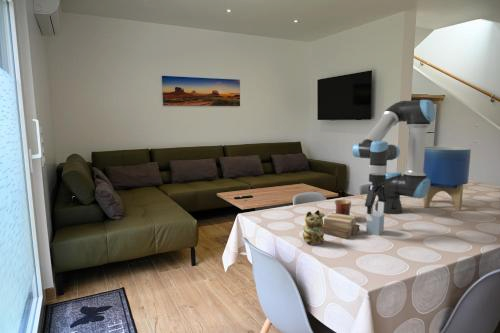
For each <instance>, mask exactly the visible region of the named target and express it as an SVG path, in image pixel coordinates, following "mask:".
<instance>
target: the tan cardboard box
mask: <svg viewBox="0 0 500 333" xmlns="http://www.w3.org/2000/svg"><path fill="white" fill-rule="evenodd" d="M360 226H361V225H360V224H355V225H354V227H353V228H352V229H351V230H350V231H345V230H339V229H333V228H328V227H324V223H323V226H322V227H321V228H320V230H322V231H323V232H324V235H328V236H332V237H335V238H338V239H343V240H348V239H349V238H351V237H353V236H355V235H357V234H358V233H360Z"/></svg>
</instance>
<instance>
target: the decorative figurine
mask: <svg viewBox="0 0 500 333" xmlns="http://www.w3.org/2000/svg"><path fill="white" fill-rule="evenodd" d="M325 216H326V215H325V213H324V212H320V210H319V209H315V211H313V213H312V212H311V211H307V212H306V214H305V217H304V221H305V225H304V226H303V228H302V230H303V231H302V237H303V240H304V241H305V242H306V243H309V245H310V246H311V245H320V244H321V241H322V242H323V241H325V238H324V236H325V234H324V232H323V231H322V230H320V228H321V227H322V226H323V224H324V218H325Z"/></svg>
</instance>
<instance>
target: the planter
mask: <svg viewBox="0 0 500 333" xmlns="http://www.w3.org/2000/svg"><path fill="white" fill-rule="evenodd" d="M471 151H472V149H471V148H470V147H469V148H468V147H459V146H437V145H435V146H434V145H433V146H425V160H424V172H425V173H426V174H427V175H426V178H428V179H430V187H429V191H428V193H427V195H426V196H425V197H424V198H422V200H423V201H422V202H423V208H425V207H426V208H425V209H429V208H430V205H431V202H432V200H433V198H434V197H435V196H436V194H438V193H439V192H445V193H446V194H448V195H449V196H450V197H451V200H452V205H454V204H455V205H454V210H455V211H457V212H461V211H462V205H463V196H464V195H463V192H464V185H467V184H469V175H470V166H471V165H470V163H471V153H472V152H471ZM428 207H429V208H428Z"/></svg>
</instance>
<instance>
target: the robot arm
mask: <svg viewBox="0 0 500 333" xmlns="http://www.w3.org/2000/svg"><path fill="white" fill-rule="evenodd" d="M435 117H436V106H435V104H434V102H433V101H432V100H430V99H412V100H401V101H398V102H397V101H396V102H394V103H393V104H392V105H389V107H387V108H385V110H384V111H383V112H382V113H381V118H380V119H379V121H378V122H377V123H376V124H375V125H374V127H373V128H372V129H371V131H369V133H368V134H367V135H366V137H365V138H364V139H363V140H362V142H357V143H354V144H353V145H352V147H351V148H352V149H351V153H352V156H353V157H355V158H360V159H369V166H368V168H369V174H368V182H370V183H371V185H368V191H367V194H366V199H365V202H364V207H366V218H365V221H367V220H369V221H373V212H374V211H377V213H380V214H384V215H385V214H392V215H393V214H394V215H395V214H402V212H403V205H402V202H401V196H403V197H409V198H414V199H423V198H424V197H425V196H426V195H427V193H428V191H429V187H430V179H428V178H426V175H427V174H426V173H425V172H424V160H425V147H427V145H426V144H427V133H428V132H427V131H428V127H430V126H431V122H432V123H433V121H435V119H436V118H435ZM400 122H403V123H404V122H406V126H407V127H408V128H409V130H408V131H409V132H408V142H407V143H408V146H407V157H406V158H407V160H406V170H405V171H404V172H403V175H402V172H400V171H390V172H387V170H388V169H387V163H388V161H393V160H395V159H398V157H399V156H400V154H401V151H400V148H399V146H397V145H396V144H391V143H388V141H384V140H383V139H384V138H385V137H386V136H387V134H388V133H389V131H390V130H392V128H393V127H394V126H396V125H397V124H398V123H400ZM376 197H377V201H376V203H375V200H376ZM374 203H375V206H374Z"/></svg>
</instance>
